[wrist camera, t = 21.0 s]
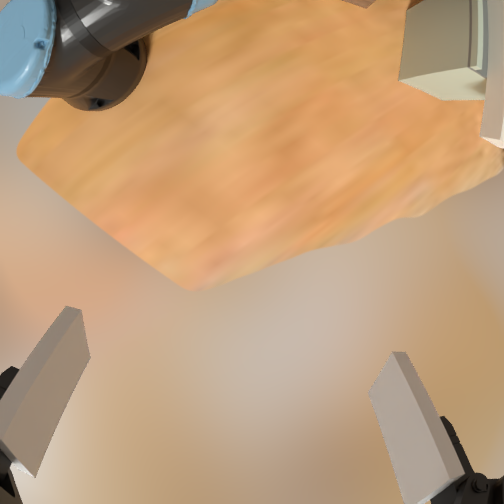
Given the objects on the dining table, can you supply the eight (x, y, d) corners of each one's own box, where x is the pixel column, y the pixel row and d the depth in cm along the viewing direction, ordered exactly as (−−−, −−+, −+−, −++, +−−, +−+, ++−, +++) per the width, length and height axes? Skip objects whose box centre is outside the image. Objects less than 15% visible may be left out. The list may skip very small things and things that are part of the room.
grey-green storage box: (442, 100, 39) (525, 101, 21) (398, 80, 38) (476, 66, 20) (449, 32, 33) (524, 11, 15) (406, 10, 33) (475, -28, 14)
